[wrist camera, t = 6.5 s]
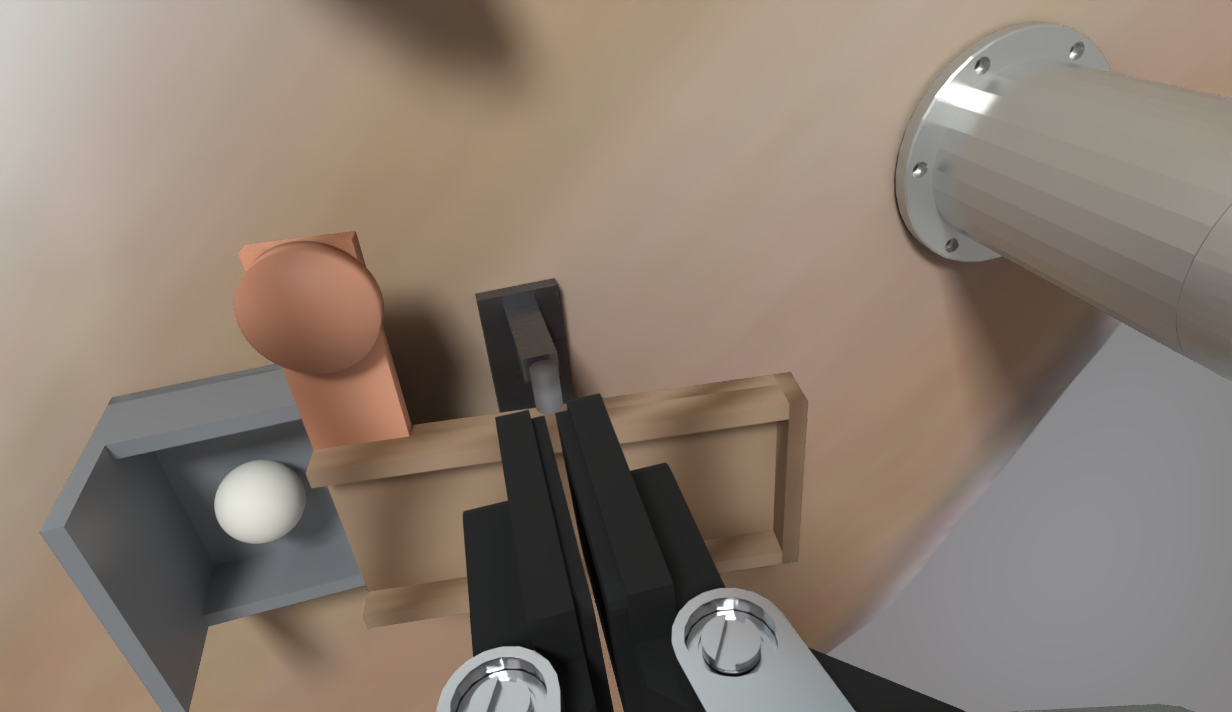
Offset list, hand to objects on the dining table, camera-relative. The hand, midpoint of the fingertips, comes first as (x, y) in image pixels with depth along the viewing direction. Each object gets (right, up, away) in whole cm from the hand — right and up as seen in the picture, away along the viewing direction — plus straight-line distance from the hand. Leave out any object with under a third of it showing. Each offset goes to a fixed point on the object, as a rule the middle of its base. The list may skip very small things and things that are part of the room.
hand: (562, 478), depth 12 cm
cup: (-16, -4, +27) cm, 31 cm away
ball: (-16, -5, +24) cm, 30 cm away
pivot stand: (-4, -1, +29) cm, 29 cm away
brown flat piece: (-2, -1, +22) cm, 22 cm away
